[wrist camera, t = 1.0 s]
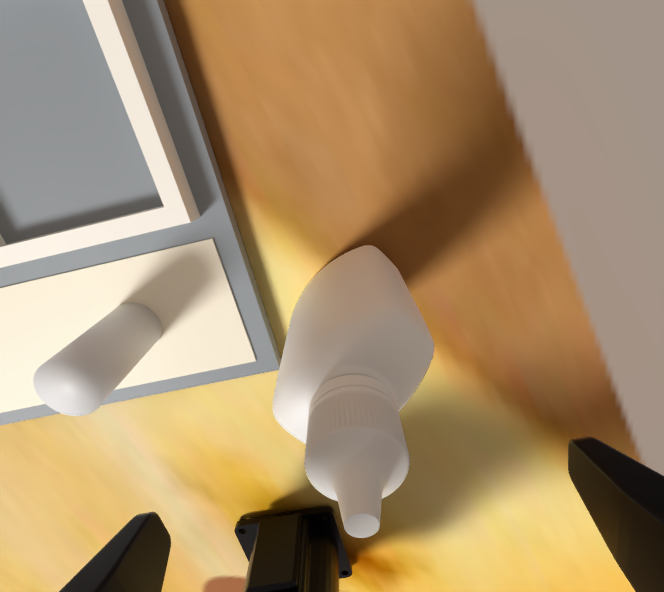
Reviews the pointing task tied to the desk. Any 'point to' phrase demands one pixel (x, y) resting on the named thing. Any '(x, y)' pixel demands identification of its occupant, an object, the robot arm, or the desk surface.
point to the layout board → (112, 217)
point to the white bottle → (353, 381)
